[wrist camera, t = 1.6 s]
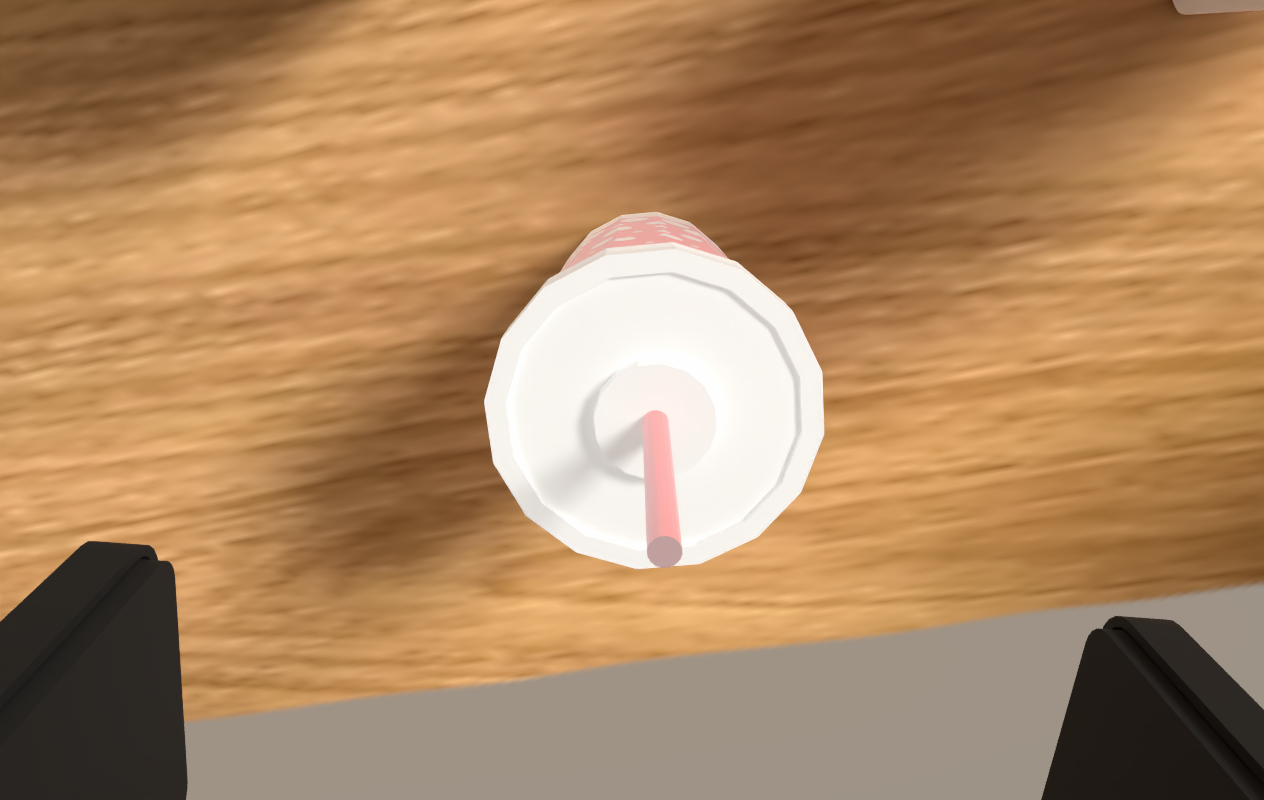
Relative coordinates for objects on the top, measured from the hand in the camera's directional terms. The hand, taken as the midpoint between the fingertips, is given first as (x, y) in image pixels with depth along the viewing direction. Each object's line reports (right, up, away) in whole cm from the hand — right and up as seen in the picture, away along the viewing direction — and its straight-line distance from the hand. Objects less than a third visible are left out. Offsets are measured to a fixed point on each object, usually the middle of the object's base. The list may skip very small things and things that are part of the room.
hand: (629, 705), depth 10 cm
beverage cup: (0, +6, +16) cm, 17 cm away
